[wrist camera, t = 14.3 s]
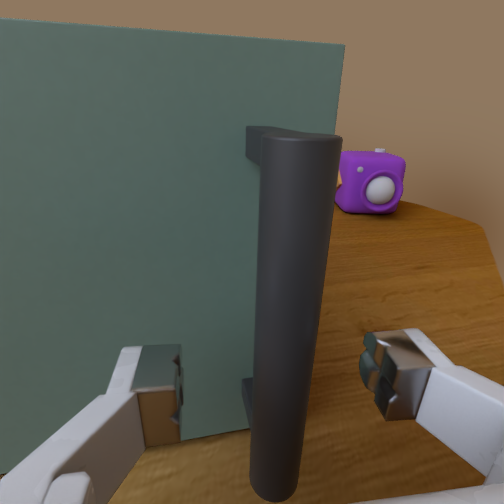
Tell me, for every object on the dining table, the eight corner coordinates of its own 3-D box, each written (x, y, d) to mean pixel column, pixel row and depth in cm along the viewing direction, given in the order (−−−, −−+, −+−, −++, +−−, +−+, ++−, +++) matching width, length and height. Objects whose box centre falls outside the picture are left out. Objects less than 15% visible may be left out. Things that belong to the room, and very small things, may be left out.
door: (344, 524, 13) (473, -4, 6) (-141, 654, 9) (-1089, -197, 3) (294, 403, 18) (332, 49, 11) (-29, 459, 15) (-253, 5, 8)
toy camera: (355, 224, 49) (366, 156, 45) (320, 201, 61) (327, 146, 57) (418, 222, 51) (434, 156, 47) (372, 200, 63) (382, 146, 59)
